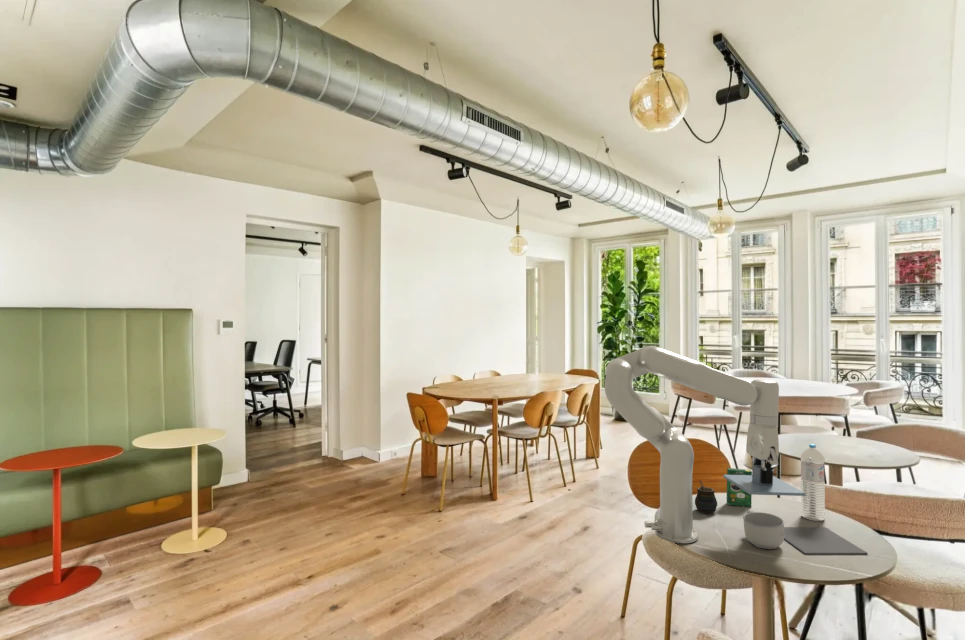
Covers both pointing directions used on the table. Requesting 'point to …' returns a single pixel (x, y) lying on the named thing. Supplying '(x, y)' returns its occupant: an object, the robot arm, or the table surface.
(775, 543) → the teacup
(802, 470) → the water bottle
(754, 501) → the table surface
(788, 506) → the table surface
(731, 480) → the lid
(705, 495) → the mate gourd
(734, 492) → the coffee box
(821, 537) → the mat
